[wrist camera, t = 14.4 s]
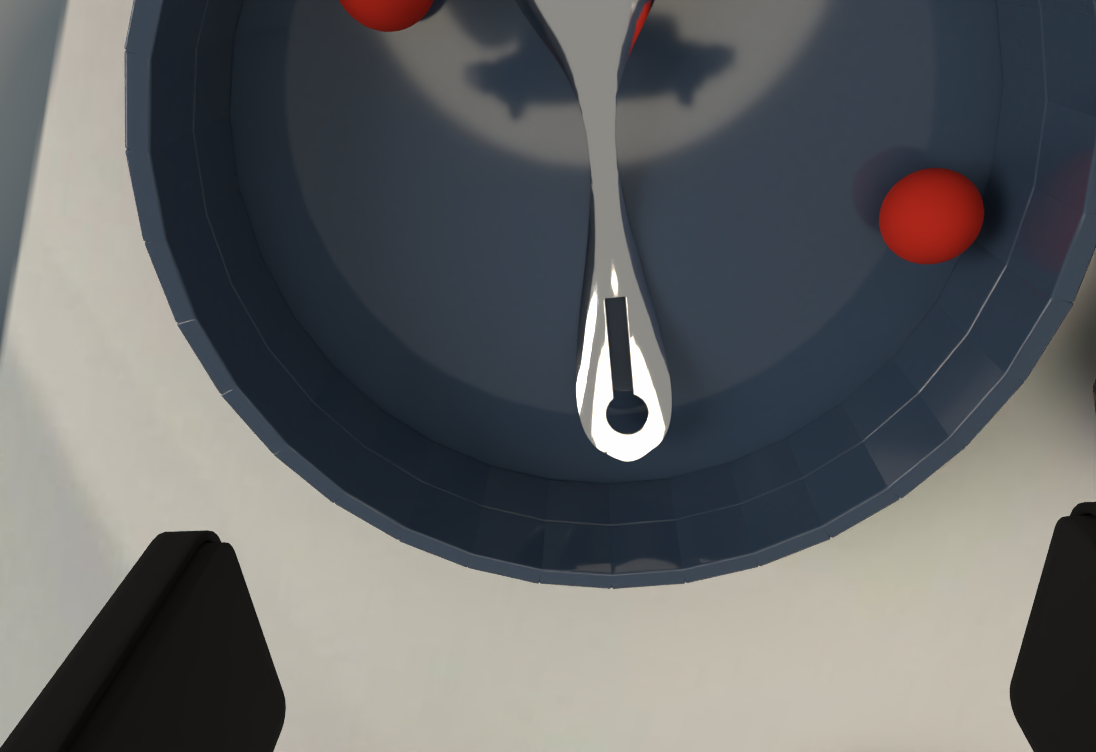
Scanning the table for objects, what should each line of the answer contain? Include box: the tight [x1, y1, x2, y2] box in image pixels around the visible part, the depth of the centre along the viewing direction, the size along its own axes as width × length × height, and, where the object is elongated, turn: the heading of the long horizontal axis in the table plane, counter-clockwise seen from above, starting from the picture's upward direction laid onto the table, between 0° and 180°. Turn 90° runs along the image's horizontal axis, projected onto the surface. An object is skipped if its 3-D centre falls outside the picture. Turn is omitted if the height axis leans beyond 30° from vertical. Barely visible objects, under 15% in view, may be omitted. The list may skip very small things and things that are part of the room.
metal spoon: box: [515, 0, 672, 461], centre depth 25 cm, size 20×4×5 cm
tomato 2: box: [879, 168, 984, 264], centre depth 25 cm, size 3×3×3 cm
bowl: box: [125, 0, 1096, 589], centre depth 24 cm, size 26×26×6 cm
